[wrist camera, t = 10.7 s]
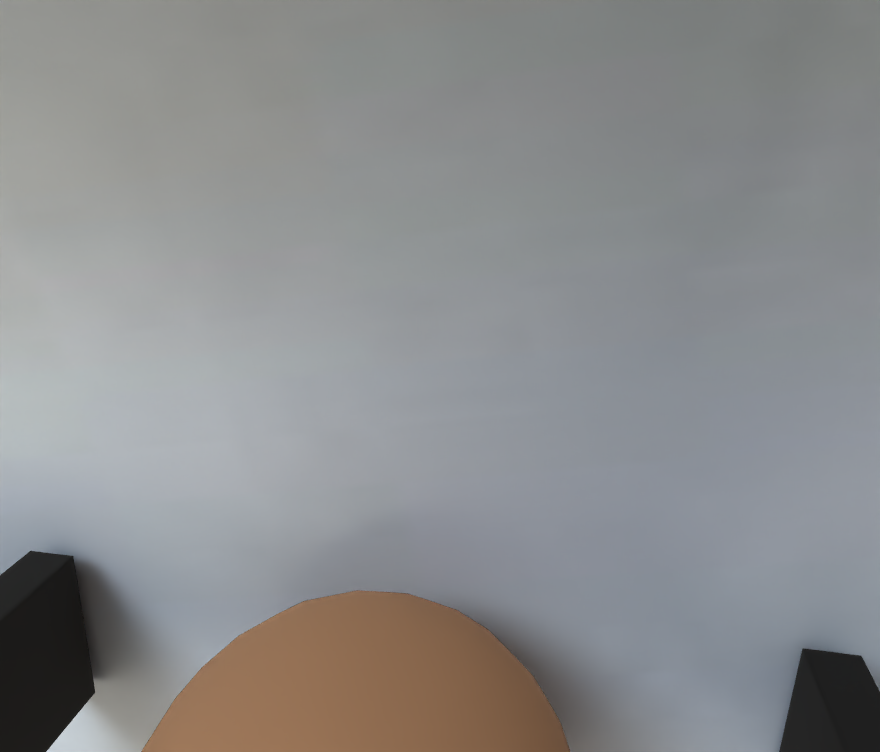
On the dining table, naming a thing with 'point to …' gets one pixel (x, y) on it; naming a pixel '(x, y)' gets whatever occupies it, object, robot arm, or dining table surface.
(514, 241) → the dining table surface
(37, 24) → the dining table surface
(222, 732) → the egg
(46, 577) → the robot arm
